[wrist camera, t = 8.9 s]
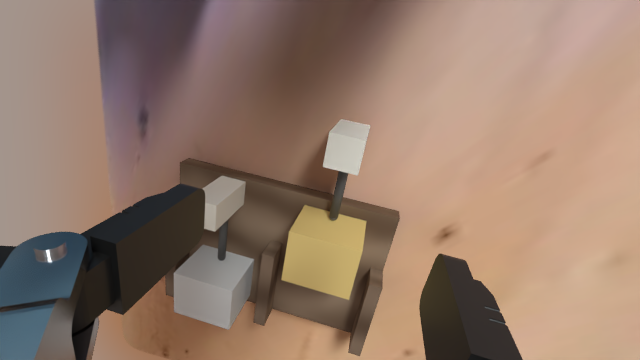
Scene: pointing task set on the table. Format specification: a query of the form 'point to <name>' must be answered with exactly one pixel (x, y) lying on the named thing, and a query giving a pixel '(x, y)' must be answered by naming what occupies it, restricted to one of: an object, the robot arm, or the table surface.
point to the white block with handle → (215, 264)
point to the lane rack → (271, 242)
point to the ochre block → (330, 224)
